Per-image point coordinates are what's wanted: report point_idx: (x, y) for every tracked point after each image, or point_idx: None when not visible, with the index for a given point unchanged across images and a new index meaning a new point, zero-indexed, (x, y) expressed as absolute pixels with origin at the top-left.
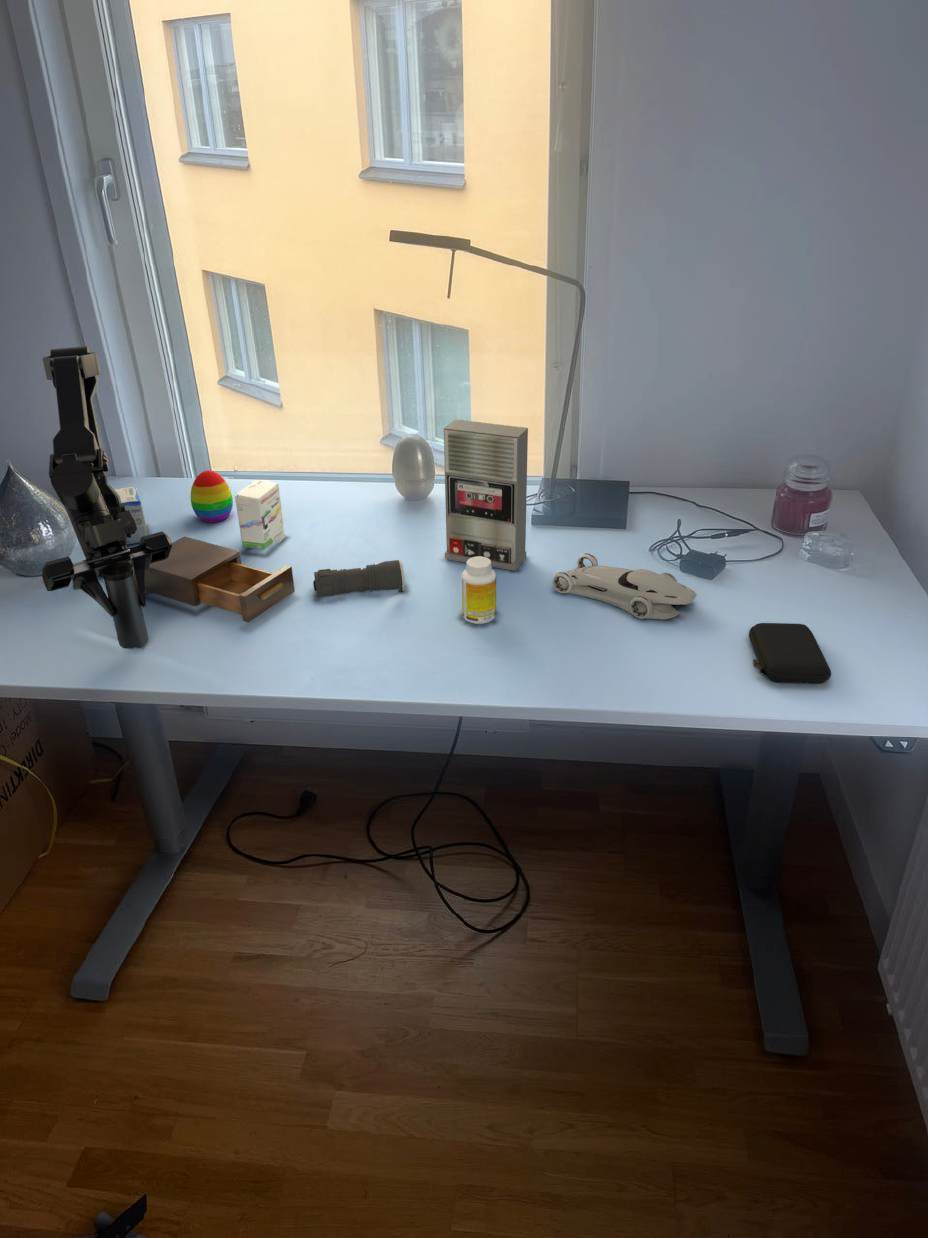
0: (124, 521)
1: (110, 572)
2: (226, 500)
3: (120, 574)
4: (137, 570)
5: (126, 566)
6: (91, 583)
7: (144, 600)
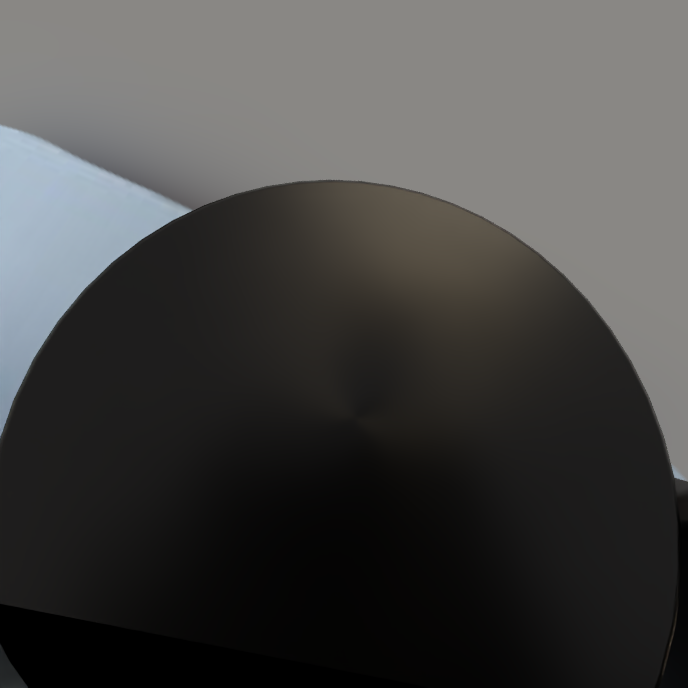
0: None
1: (482, 315)
2: None
3: (325, 187)
4: (21, 681)
5: (153, 441)
6: (678, 498)
7: None
